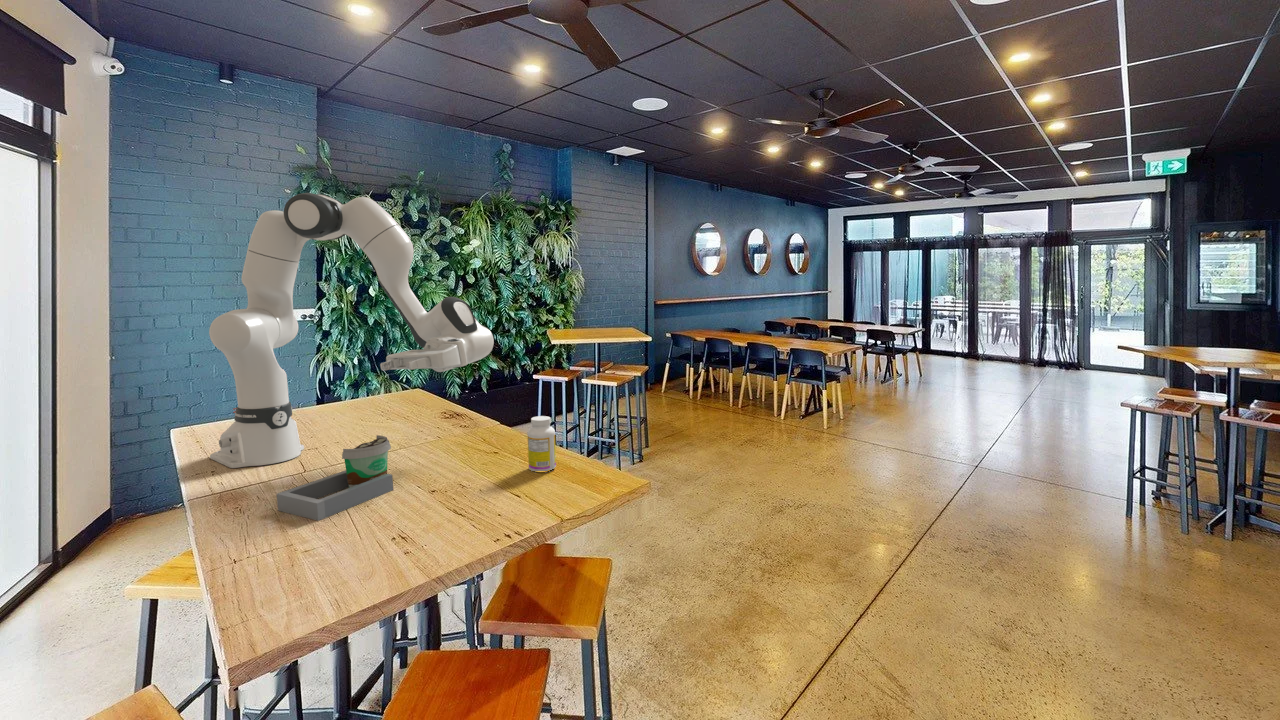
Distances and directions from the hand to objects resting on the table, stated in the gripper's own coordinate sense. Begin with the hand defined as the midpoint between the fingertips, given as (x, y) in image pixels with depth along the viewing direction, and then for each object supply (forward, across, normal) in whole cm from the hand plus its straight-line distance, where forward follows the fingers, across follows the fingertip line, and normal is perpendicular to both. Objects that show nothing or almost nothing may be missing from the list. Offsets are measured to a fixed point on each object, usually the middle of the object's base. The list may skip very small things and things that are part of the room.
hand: (395, 366), depth 134 cm
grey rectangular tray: (+20, 0, +24) cm, 31 cm away
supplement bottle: (-16, +24, +31) cm, 42 cm away
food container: (+11, -1, +25) cm, 27 cm away
